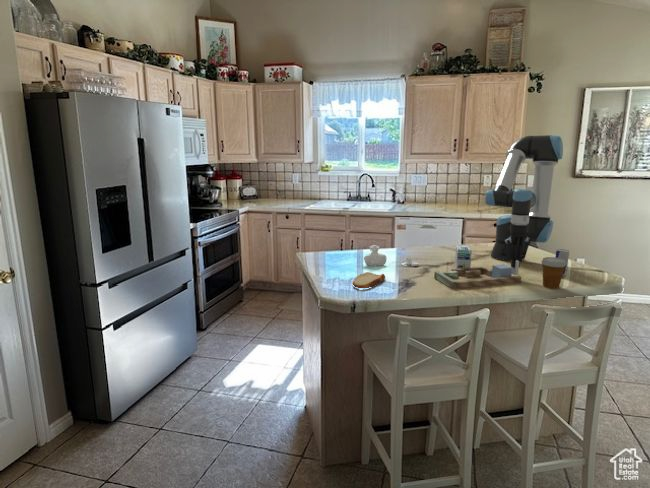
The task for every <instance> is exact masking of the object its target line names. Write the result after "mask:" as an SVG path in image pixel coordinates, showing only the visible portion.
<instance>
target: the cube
mask: <svg viewBox="0 0 650 488" xmlns="http://www.w3.org/2000/svg"><path fill="white" fill-rule="evenodd" d="M491 267H492V268H491V269H492V276H491V278H499V277H510V276H513V274H512V267H511V266H509V265H506V264H505V263H504V264H503V263H502V264H501V263H500V264H492V266H491Z"/></svg>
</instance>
